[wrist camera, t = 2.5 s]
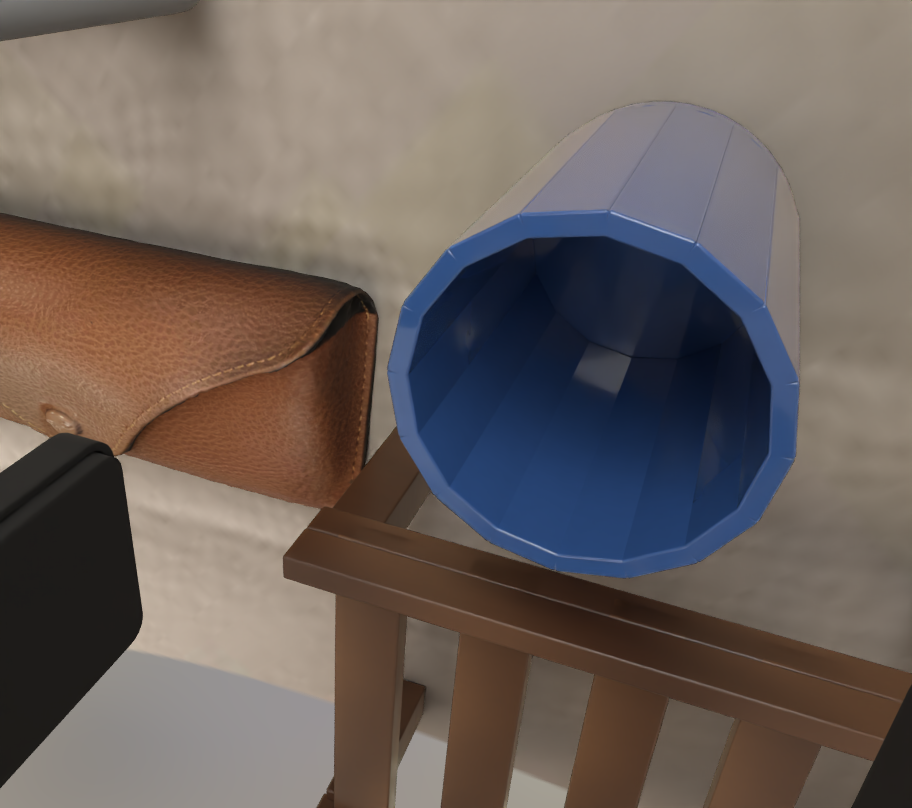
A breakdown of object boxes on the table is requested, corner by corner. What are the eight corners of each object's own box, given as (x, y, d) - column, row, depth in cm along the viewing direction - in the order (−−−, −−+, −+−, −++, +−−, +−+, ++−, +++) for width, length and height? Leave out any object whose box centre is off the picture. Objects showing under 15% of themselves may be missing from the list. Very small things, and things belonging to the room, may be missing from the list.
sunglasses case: (-73, 400, 33) (-257, 389, 26) (-33, 216, 33) (-208, 161, 26) (368, 519, 28) (276, 543, 22) (415, 307, 28) (338, 268, 22)
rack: (383, 702, 33) (292, 874, 27) (397, 412, 26) (281, 555, 21) (853, 862, 29) (866, 1105, 23) (1009, 566, 22) (1085, 801, 16)
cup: (480, 176, 22) (320, 308, 15) (733, 45, 19) (689, 131, 11) (592, 393, 24) (500, 608, 17) (840, 307, 21) (863, 527, 13)
